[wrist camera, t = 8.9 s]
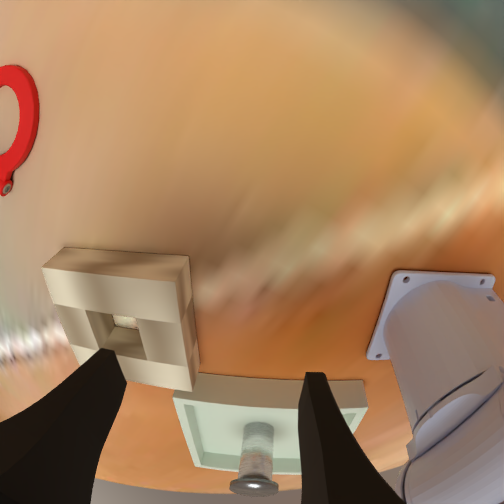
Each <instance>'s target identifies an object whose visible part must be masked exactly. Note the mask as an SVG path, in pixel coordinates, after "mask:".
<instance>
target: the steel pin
mask: <svg viewBox="0 0 504 504" xmlns="http://www.w3.org/2000/svg"><path fill="white" fill-rule="evenodd" d="M273 450H274V427H273V426H272V425H270V424H268V423H264V422H251V423H248V424H246V425H245V426H244V431H243V439H242V448H241V456H240V465H239V473H238V479H235V480H233V481H231V482H230V490H231V491H232V492H234V493H237V494H240V495H245V496H254V497H264V496H271V495H274V494H277V493H278V487H279V486H278V484H277V483H275V482H273V481H272V470H273Z"/></svg>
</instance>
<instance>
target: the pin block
mask: <svg viewBox="0 0 504 504" xmlns="http://www.w3.org/2000/svg"><path fill="white" fill-rule="evenodd" d="M41 268H42V272H43V275H44V278H45V281H46V284H47V287H48V290H49V293H50V295H51V298H52V301H53V304H54V306H55V309H56V312H57V314H58V317H59V319H60V322H61V324H62V327H63V329H64V331H65V334H66V336H67V338H68V341H69V343H70V345H71V347H72V349H73V352H74V354H75V356H76V358H77V360H78V362H79V364H80V366H81V365H82V364H83V363H85V362H86V361H87V360H88V359H89V358H90V357H91V356H92V355H93V354H95V353H96V352H97V351H98V350H99V349H100V348H105V349H109V350H114V351H115V354H116V357H117V359H118V362H119V364H120V367H121V370H122V372H123V375H124V377H125V379H126V380H128V381H133V382H138V383H143V384H148V385H153V386H158V387H164V388H170V389H176V390H182V391H189V392H193V389H194V385H195V381H196V378H197V374H198V370H199V366H200V358H199V351H198V343H197V334H196V326H195V317H194V308H193V298H192V288H191V277H190V265H189V256H181V255H166V254H151V253H136V252H122V251H108V250H93V249H80V248H66V247H64V248H63V249H62V250H60V251H59V252H58V253H57V254H56V255H55V256H53V257H52V258H51V259H50V260H49V261H48V262H47V263H46V264H44V265H43V266H42V267H41ZM112 314H113V315H120V316H126V317H133V318H136V321H137V325H138V329H139V330H134V329H128V328H122V327H116V326H115V324H114V321H113V317H112Z"/></svg>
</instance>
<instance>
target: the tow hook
mask: <svg viewBox="0 0 504 504" xmlns="http://www.w3.org/2000/svg"><path fill="white" fill-rule="evenodd" d="M4 85H8V86H9V87H11V88H12V89H13V91H14V92H15V93H16V96H17V99H18V102H19V109H20V121H19V127H18V132H17V135H16V138H15V140H14V142H13V144H12V146H11V147H10V149H9V150H8V151H7V152H6V153H4V154H2V155H0V195H1V196H6V195H7V194H8V193H9V192H10V190H11V188H12V185H13V183H12V181H11V180H10V178H11V175H12V172H13V170H15V169H17V168H18V167H19V166H20V165H21V164H22V163H23V162H24V161H25V159H26V157H27V155H28V154H29V152H30V150H31V148H32V145H33V142H34V140H35V137H36V132H37V127H38V122H39V99H38V92H37V88H36V86H35V83H34V80H33V78H32V77H31V76H30V74H29V73H28V72H27V70H25V69H23V68H22V67H20V66H12V65H5V66H2V67H0V87H1V86H4Z"/></svg>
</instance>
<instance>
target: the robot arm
mask: <svg viewBox="0 0 504 504" xmlns="http://www.w3.org/2000/svg"><path fill="white" fill-rule="evenodd" d="M407 276H408V278H407V279H406V280H403V279H404V278H405V277H407ZM481 280H482V281H481ZM480 281H481V282H480ZM494 283H495V277H494V276H493V275H492V274H474V273H450V272H428V271H407V270H398V271H396V272H394V273H393V274H392V277H391V280H390V284H389V287H388V290H387V294H386V297H385V300H384V303H383V306H382V310H381V313H380V316H379V319H378V322H377V325H376V327H375V330H374V333H373V336H372V339H371V342H370V344H369V347H368V350H367V352H366V357H367V359H369V360H387V359H390V360H391V363H392V366H393V369H394V372H395V375H396V378H397V381H398V384H399V388H400V391H401V394H402V398H403V401H404V404H405V408H406V411H407V415H408V419H409V422H410V426H411V430H412V434H413V439H412V440H411V441H410V442H409V443H408V444H407V445H406V447H407V451H408V456H409V460H408V461H407V462H406V463H405V464H404V465H403V467H402V468H401V470H400V472H399V474H398V477H397V480H396V485H395V491H393V489H392V488H391V487H390V486H389V485H388V483H386V481H385V480H384V479H383V478H382V477H381V475H380V474H379V473H378V471H377V470H376V469H375V467H374V466H373V465H372V463H371V462H370V461H369V459H368V458H367V456H366V455H365V453H364V452H363V450H362V449H361V447H360V446H359V444H358V442H357V441H356V439H355V437H354V436H353V434H352V432H351V430H350V429H349V427H348V425H347V423H346V421H345V419H344V417H343V415H342V413H341V411H340V409H339V407H338V405H337V403H336V400H335V398H334V396H333V393H332V391H331V389H330V386H329V383H328V381H327V378H326V375H325V374H324V373H323V372H306V374H305V379H304V383H303V387H302V391H301V395H300V399H299V403H298V438H299V450H300V462H301V474H302V501H301V504H504V303H503V301H502V300H501V299H500V298H499V297H498V295H497V294H496V293H495V292H494V291H493V289H492V288H493V285H494ZM377 354H378V355H377ZM126 385H127V382H126V379H125V377H124V375H123V372H122V370H121V367H120V364H119V362H118V359H117V357H116V354H115V351H114V350H109V349H105V348H100V349H99V350H98V351H97V352H96V353H95V354H93V355H92V356H91V357H90V358H89V359H88V360H87V361H86V362H85V363H83V364H82V365H81V366H80V367H79V368H78V369H77V370H76V371H74V372H73V373H72V374H71V375H70V376H69V377H68V378H66V379H65V380H64V381H63V382H62V383H61V384H59V385H58V386H57V387H56V388H54V389H53V390H52V391H51V392H49V393H48V394H47V395H46V396H44V397H43V398H42V399H40V400H39V401H37V402H36V403H34V404H33V405H31V406H30V407H28V408H27V409H25V410H23V411H22V412H20V413H18V414H16V415H14V416H12V417H11V418H9V419H7V420H5V421H3V422H0V504H90V502H91V495H92V488H93V483H94V478H95V474H96V469H97V465H98V462H99V458H100V454H101V451H102V449H103V446H104V443H105V441H106V439H107V436H108V434H109V432H110V429H111V427H112V425H113V422H114V420H115V418H116V415H117V413H118V411H119V408H120V406H121V403H122V399H123V396H124V392H125V389H126Z"/></svg>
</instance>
